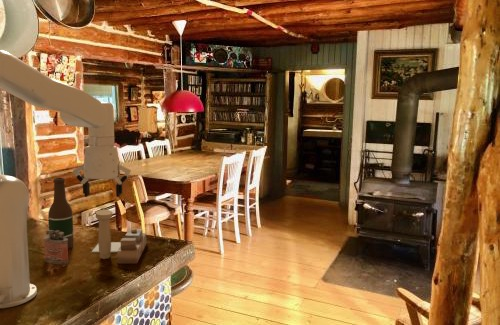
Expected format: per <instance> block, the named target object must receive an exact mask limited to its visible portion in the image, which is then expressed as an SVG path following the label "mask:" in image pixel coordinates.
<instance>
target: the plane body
mask: <svg viewBox="0 0 500 325" xmlns="http://www.w3.org/2000/svg"><path fill="white" fill-rule="evenodd" d="M120 242H121V246H120V248H119V249H118V251H117V253H116V254H117V256H116V258H117V259H116V260H117V262H116V263H117V264H138V262H139V260H140V258H141V256H142V254H143V252H144V250H145V248H146V246H147V233H146V232H143V228H129V229H128V231H127V232H126V234H125V236H124V237H122V238H121V239H120Z"/></svg>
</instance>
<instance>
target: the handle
mask: <svg viewBox="0 0 500 325" xmlns="http://www.w3.org/2000/svg"><path fill="white" fill-rule="evenodd" d="M95 218H96V219H97V220H98V236H97V237H98V242H97V244H98V245H99V259H103V260H106V259H110V258H111V253H110V252H111V242H112V234H111V222H110V221H111V220H110V219H112V218H113V211H112V210H110V209H100V210H96V211H95Z"/></svg>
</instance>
